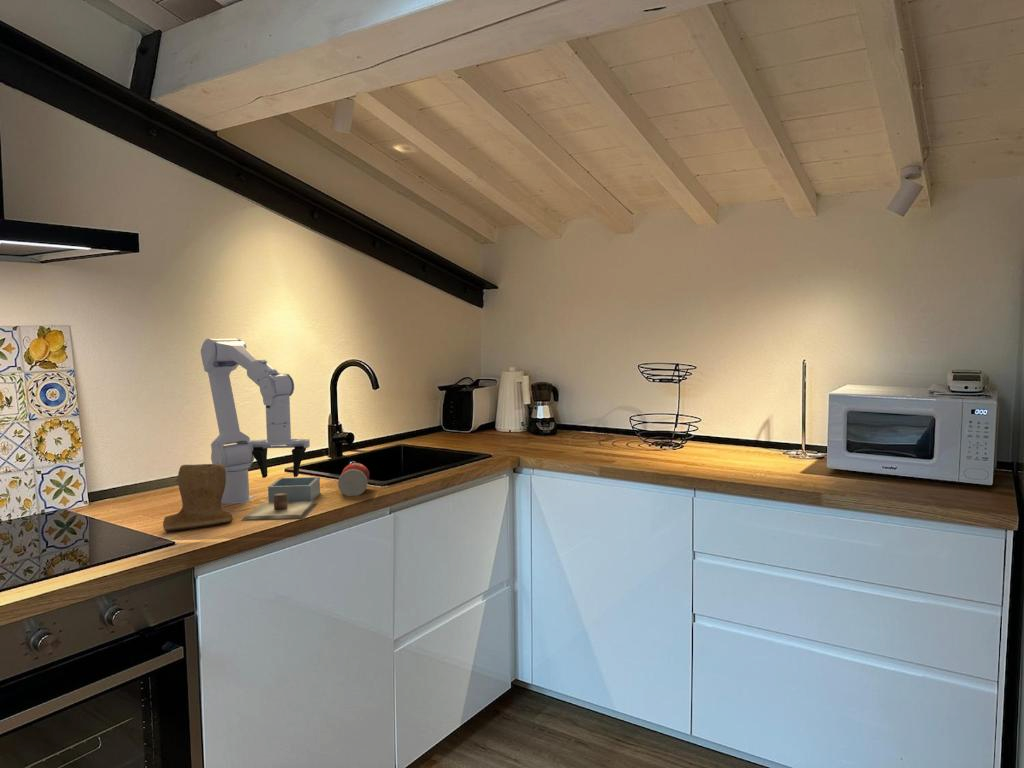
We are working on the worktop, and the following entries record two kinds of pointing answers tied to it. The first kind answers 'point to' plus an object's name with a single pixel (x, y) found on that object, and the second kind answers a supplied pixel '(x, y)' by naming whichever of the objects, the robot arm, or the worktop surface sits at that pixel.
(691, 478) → the worktop surface
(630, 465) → the worktop surface
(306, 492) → the gray lidded box
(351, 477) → the canned food
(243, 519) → the rubber mat
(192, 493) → the brown flared stand
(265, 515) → the birch lid
